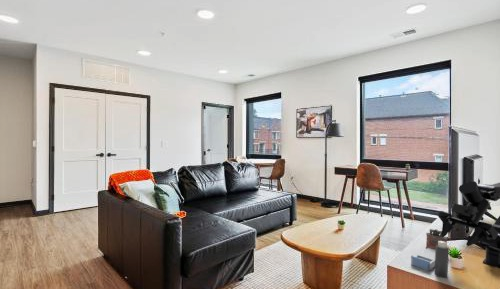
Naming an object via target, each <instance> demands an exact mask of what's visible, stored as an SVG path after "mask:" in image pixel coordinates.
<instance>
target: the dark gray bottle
mask: <svg viewBox="0 0 500 289" xmlns="http://www.w3.org/2000/svg"><path fill="white" fill-rule="evenodd" d="M447 244H448V242H447V243H446V242H444V241H438V245H436V250H435V267H434V275H435V276H437V277H440V278H444V279H447V278H448V275H449V273H448V272H449V251H450V250H449V247H447Z"/></svg>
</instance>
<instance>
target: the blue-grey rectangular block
mask: <svg viewBox="0 0 500 289" xmlns="http://www.w3.org/2000/svg"><path fill="white" fill-rule="evenodd" d="M410 261H411V262H410V265H411V266H414V267H418V268H420V269H423V270H424V271H428V272H429V271H432V269H434V268H435V250H434V249H431V248H427V249H426V248H425V249H424V250H423V251H421V252H420V253H417V254H415V255H411V260H410Z"/></svg>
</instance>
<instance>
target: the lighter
mask: <svg viewBox="0 0 500 289" xmlns="http://www.w3.org/2000/svg"><path fill="white" fill-rule="evenodd" d="M441 233H442V230H438V229H437V228H436V229H433V228H429V232H426V241H425V242H426V243H425V244H426V245H425V250H426V249H427V248H431V249H434V250H436V245H438V241H444V242H446V243H447V244H448V237H447V236H444V237H442V236H441Z"/></svg>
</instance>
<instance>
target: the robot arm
mask: <svg viewBox="0 0 500 289" xmlns="http://www.w3.org/2000/svg"><path fill="white" fill-rule="evenodd" d="M458 190H459V192H460V194H461V195H462V196H463V198H464V200H465V201H466V202H467V203H468V204H467V205H463V204H460V203H457V202H456V203H455V202H453V205H452V208H451V212H454V213H455V217H454V216H453V214H452V213H450V212H448V211H447V212H446V211H444V210H441V211H438V213H437V216H438V218H439V219H440V221H441V222H442V228H441V231H442V233H441V236H442V237H446V236H447V235H448V234H449V233H450V232H451V231H452V230H453V228H454V226H455V225H456V224H457V225H460V226H464V227H467V228H471V229H474V230H473V232H472V234H471V236H470V237H469V238H468V239H467V242H466V244H465V245H466V246H467V247H470V246H472V245H475V244H477V243H479V246H480V247H483V248H485V258H484V260H482V263H483V264H486V265H489V266H492V267H496V268H500V215H499V216H498V218H496V220H495V221H494V223H493V224H492V223H488V222H485V221H484V219H485V218H484V215H485V213H486V212H487V210H488V211H492V206H491V202H489V201H493V202H497V201H498V200H500V182H496V183H493V184H483V183H481V184H480V183H479V184H478V183H477V181H474V180H469V181H468V182H465V183H463V184H460V185H459V187H458Z"/></svg>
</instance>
